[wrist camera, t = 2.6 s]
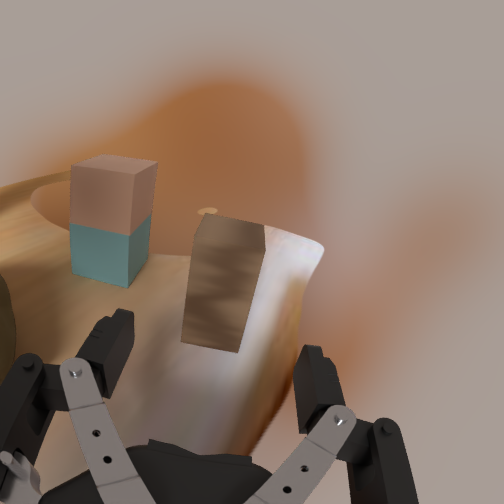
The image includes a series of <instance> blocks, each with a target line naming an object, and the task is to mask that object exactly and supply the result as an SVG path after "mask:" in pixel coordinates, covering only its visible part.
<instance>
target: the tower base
mask: <svg viewBox="0 0 504 504" xmlns="http://www.w3.org/2000/svg"><path fill="white" fill-rule="evenodd" d="M150 224H151V214H150V215H149V216H148V217H147V218H146V219H145V220H144V221H143V222H142V223H141V224H140V225H139V227H138V228H137V229H136V230H135V231H134V232H133V233H132V234H131V235H130V236H129V235H124V234H119V233H115V232H110V231H105V230H100V229H96V228H91V227H86V226H82V225H77V224H73V223H70V248H71V264H72V274H76V275H79V276H83V277H87V278H90V279H94V280H98V281H102V282H105V283H109V284H113V285H117V286H121V287H125V288H128V287H129V286H130V284H131V283H132V281H133V280H134V278H135V277H136V275H137V274H138V272H139V271H140V269H141V268H142V266H143V265H144V263H145V262H146V260H147V259H148V247H149V235H150Z"/></svg>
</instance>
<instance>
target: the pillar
mask: <svg viewBox="0 0 504 504" xmlns="http://www.w3.org/2000/svg"><path fill="white" fill-rule="evenodd" d="M265 251H266V248H265V233H264V225H261V224H256V223H252V222H247V221H242V220H237V219H232V218H228V217H223V216H218V215H213V214H208V213H205V215H204V217H203V219H202V221H201V223H200V225H199V227H198V229H197V231H196V234H195V235H194V242H193V249H192V256H191V263H190V270H189V277H188V285H187V293H186V301H185V309H184V318H183V327H182V336H181V342H184V343H188V344H193V345H198V346H203V347H208V348H213V349H218V350H223V351H229V352H235V353H238V351H239V347H240V344H241V340H242V336H243V333H244V329H245V325H246V322H247V318H248V314H249V311H250V307H251V303H252V299H253V296H254V292H255V288H256V285H257V281H258V277H259V273H260V269H261V266H262V262H263V258H264V254H265Z"/></svg>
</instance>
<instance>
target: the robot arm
mask: <svg viewBox="0 0 504 504" xmlns="http://www.w3.org/2000/svg"><path fill="white" fill-rule="evenodd" d="M134 337H135V335H134V313H133V312H132V311H128V310H124V309H120V308H118V309H117V310H116V311H115V313H114V315H113V316H112V317H108V316H105V317H104V318H102V319H101V320H99V321H98V322H97V323H96V325H95V326H94V328H93V330H92V331H91V333H90V334H89V336H88V337H87V339H86V340H85V342H84V344H83V345H82V347H81V348H80V350H79V352H78V353H77V355H76V356H75V358H69V359H67V360H65V361H64V362H63V363H62V364H61V365H52V364H43V362H42V360H41V358H40V357H39V356H37V355H35V354H32V353H27V354H23V355H21V356H20V357H18V358H17V360H16V361H15V363H14V364H13V366H12V367H11V369H10V370H9V372H8V374H7V375H6V377H5V379H4V380H3V382H2V383H1V385H0V504H303V503H304V502H305V500H306V499H307V498H308V496H309V495H310V494H311V493H312V491H313V490H314V489H315V487H316V486H317V485H318V483H319V482H320V480H321V479H322V478H323V476H324V475H325V474H326V472H327V471H328V469H329V468H330V466H331V464H332V463H333V462H334V460H335V459H339V460H342V461H346V463H347V470H348V479H349V488H350V497H351V504H419V502H418V498H417V493H416V489H415V484H414V480H413V476H412V472H411V468H410V464H409V460H408V456H407V453H406V449H405V446H404V442H403V438H402V434H401V431H400V428H399V426H398V425H397V424H396V423H395V422H394V421H393V420H391V419H389V418H379V419H377V420H376V421H375V422H374V423H370V422H367V421H363V420H360V419H357V418H356V416H355V414H354V413H353V411H352V410H351V409H349V408H348V407H346V405H345V401H344V397H343V393H342V389H341V386H340V383H339V378H338V376H337V371H336V367H335V365H334V364H333V362H332V361H331V360H330V358H326V357H323V353H322V349H321V347H320V346H314V345H304V346H303V348H302V351H301V353H300V355H299V358H298V360H297V363H296V365H295V367H294V372H293V383H294V391H295V400H296V408H297V417H298V426H299V433H300V434H307V437H305V438H304V440H303V441H302V442H301V443H300V444H299V446H298V447H297V448H296V449H295V450H294V451H293V453H292V454H291V455H290V456H289V457H288V458H287V459H286V461H285V462H284V463H283V464H282V465H281V466H280V467H279V469H278V470H277V471H276V472H275V473H274V474H272V473H270V472H269V471H268V470H266V469H264V468H263V467H261V466H258V465H256V464H253V463H252V457H251V456H241V455H232V454H218V455H197V454H195V453H192V452H190V451H187V450H185V449H183V448H180V447H178V446H176V445H173V444H168V443H164V442H160V441H155V440H151V439H149V442H148V445H138V446H132V447H129V448H126V449H125V448H124V446H123V444H122V441H121V439H120V437H119V435H118V433H117V431H116V428H115V426H114V424H113V421H112V419H111V417H110V414H109V412H108V410H107V407H106V405H105V403H104V402H103V400H102V397H104V398H107V399H110V398H111V396H112V393H113V391H114V388H115V386H116V384H117V381H118V379H119V377H120V375H121V372H122V370H123V368H124V366H125V363H126V361H127V359H128V357H129V354H130V352H131V350H132V348H133V344H134ZM55 411H68V412H69V413H70V416H71V420H72V423H73V426H74V429H75V432H76V435H77V438H78V441H79V444H80V446H81V449H82V452H83V455H84V457H85V460H86V462H87V465H88V467H89V469H88V470H87V471H85V472H83V473H81V474H80V475H78V476H76V477H74V478H72V479H70V480H68V481H67V482H65V483H63V484H61V485H59V486H57V487H55V488H53V489H51V490H49V491H48V492H46V493H45V494H44V495H43V496H42V495H41V492H40V476H39V473H38V471H37V470H36V469H35V468H34V464H35V461H36V458H37V456H38V453H39V450H40V448H41V445H42V442H43V440H44V437H45V435H46V432H47V430H48V427H49V425H50V423H51V420H52V418H53V416H54V413H55Z"/></svg>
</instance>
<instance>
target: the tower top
mask: <svg viewBox="0 0 504 504" xmlns="http://www.w3.org/2000/svg"><path fill="white" fill-rule="evenodd" d="M157 166H158V162H155V161H149V160H142V159H135V158H129V157H121V156H113V155H105V154H102V155H99V156H96V157H94V158H90V159H87V160H85V161H82V162H79V163H76V164H73V165H71V183H70V223H73V224H77V225H82V226H86V227H91V228H96V229H100V230H105V231H110V232H115V233H119V234H124V235H129V236H130V235H131V234H132V233H133V232H134V231H135V230H136V229H137V228H138V227H139V225H140V224H141V223H142V222H143V221H144V220H145V219H146V218H147V217H148V216H149V215H150V214H151V213H152V207H153V197H154V189H155V181H156V174H157Z"/></svg>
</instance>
